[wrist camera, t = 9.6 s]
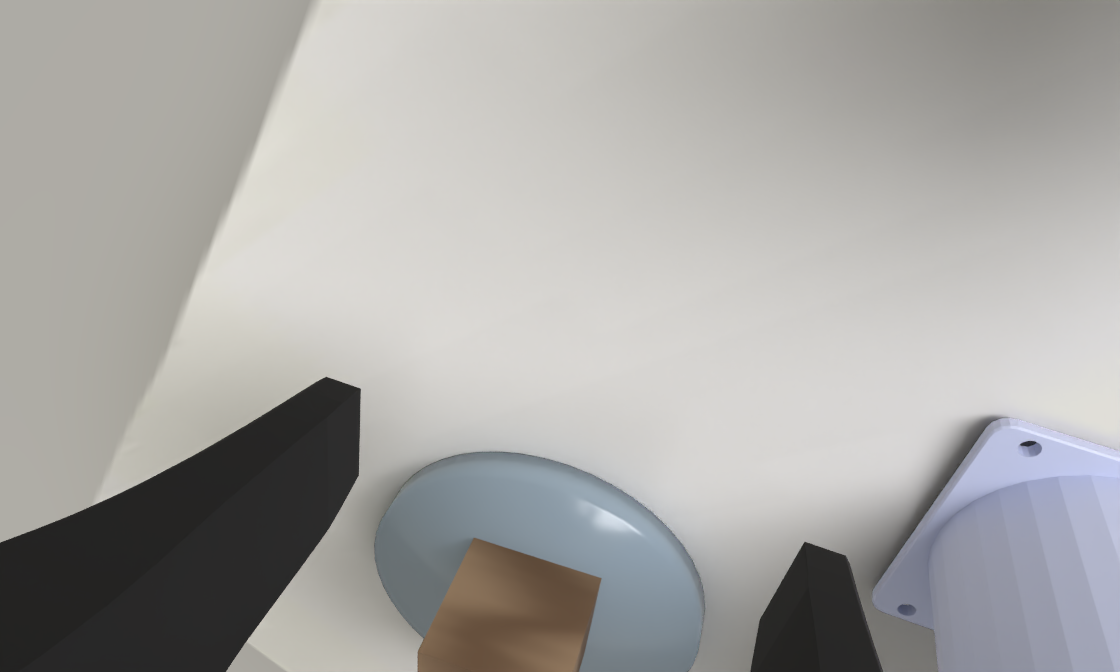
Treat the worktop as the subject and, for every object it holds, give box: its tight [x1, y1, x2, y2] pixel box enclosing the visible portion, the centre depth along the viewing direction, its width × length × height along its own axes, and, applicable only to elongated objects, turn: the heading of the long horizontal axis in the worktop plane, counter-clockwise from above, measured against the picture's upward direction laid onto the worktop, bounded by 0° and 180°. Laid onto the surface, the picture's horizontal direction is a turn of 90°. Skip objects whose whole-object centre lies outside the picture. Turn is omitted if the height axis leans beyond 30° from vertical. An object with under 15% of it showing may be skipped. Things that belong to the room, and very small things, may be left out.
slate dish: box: [374, 452, 705, 672], centre depth 29 cm, size 12×12×1 cm
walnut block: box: [418, 538, 602, 672], centre depth 26 cm, size 4×4×4 cm
